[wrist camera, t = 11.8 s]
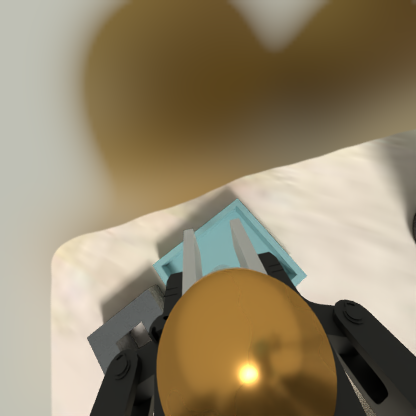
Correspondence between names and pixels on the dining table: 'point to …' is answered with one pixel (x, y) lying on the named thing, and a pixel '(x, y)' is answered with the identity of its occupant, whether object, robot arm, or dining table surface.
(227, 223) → the tray
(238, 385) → the pin
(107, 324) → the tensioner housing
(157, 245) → the dining table surface
